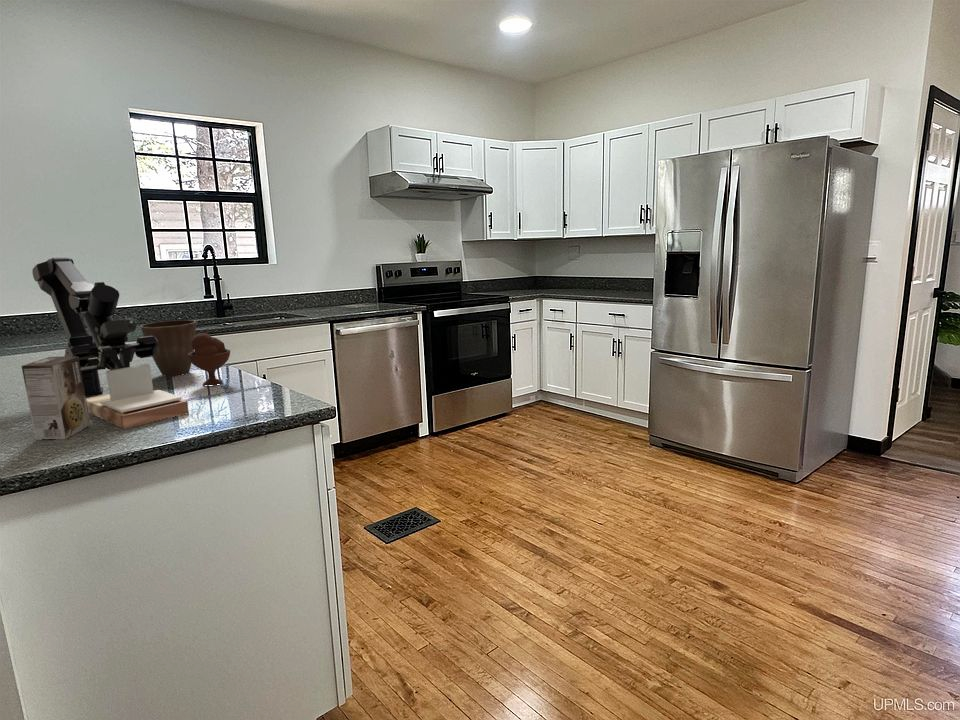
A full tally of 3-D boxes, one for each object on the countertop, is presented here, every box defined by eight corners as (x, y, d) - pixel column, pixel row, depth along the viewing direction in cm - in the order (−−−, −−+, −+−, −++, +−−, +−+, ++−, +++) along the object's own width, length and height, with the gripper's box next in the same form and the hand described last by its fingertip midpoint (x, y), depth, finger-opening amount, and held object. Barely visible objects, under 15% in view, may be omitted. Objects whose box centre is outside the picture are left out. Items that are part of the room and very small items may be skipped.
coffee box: (61, 426, 127) (49, 356, 123) (92, 425, 127) (80, 355, 124) (33, 440, 118) (19, 365, 114) (66, 439, 118) (53, 364, 115)
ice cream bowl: (218, 389, 156) (211, 336, 153) (182, 388, 159) (176, 335, 156) (241, 380, 167) (235, 330, 164) (207, 379, 169) (201, 329, 166)
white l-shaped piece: (100, 404, 132) (95, 372, 130) (159, 392, 142) (155, 362, 140) (121, 412, 125) (116, 379, 123) (181, 399, 135) (177, 368, 133)
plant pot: (159, 382, 167) (151, 328, 163) (140, 375, 176) (132, 324, 173) (210, 372, 178) (204, 322, 174) (189, 366, 187) (183, 318, 184)
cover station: (84, 410, 139) (82, 399, 138) (145, 397, 149) (144, 386, 149) (124, 429, 124) (122, 416, 123) (188, 413, 135) (187, 401, 134)
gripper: (62, 312, 129) (88, 364, 124) (150, 304, 143) (175, 351, 139) (57, 342, 135) (81, 394, 131) (141, 332, 149) (165, 378, 145)
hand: (128, 378), depth 136 cm, fingers closed, pressing on white l-shaped piece
